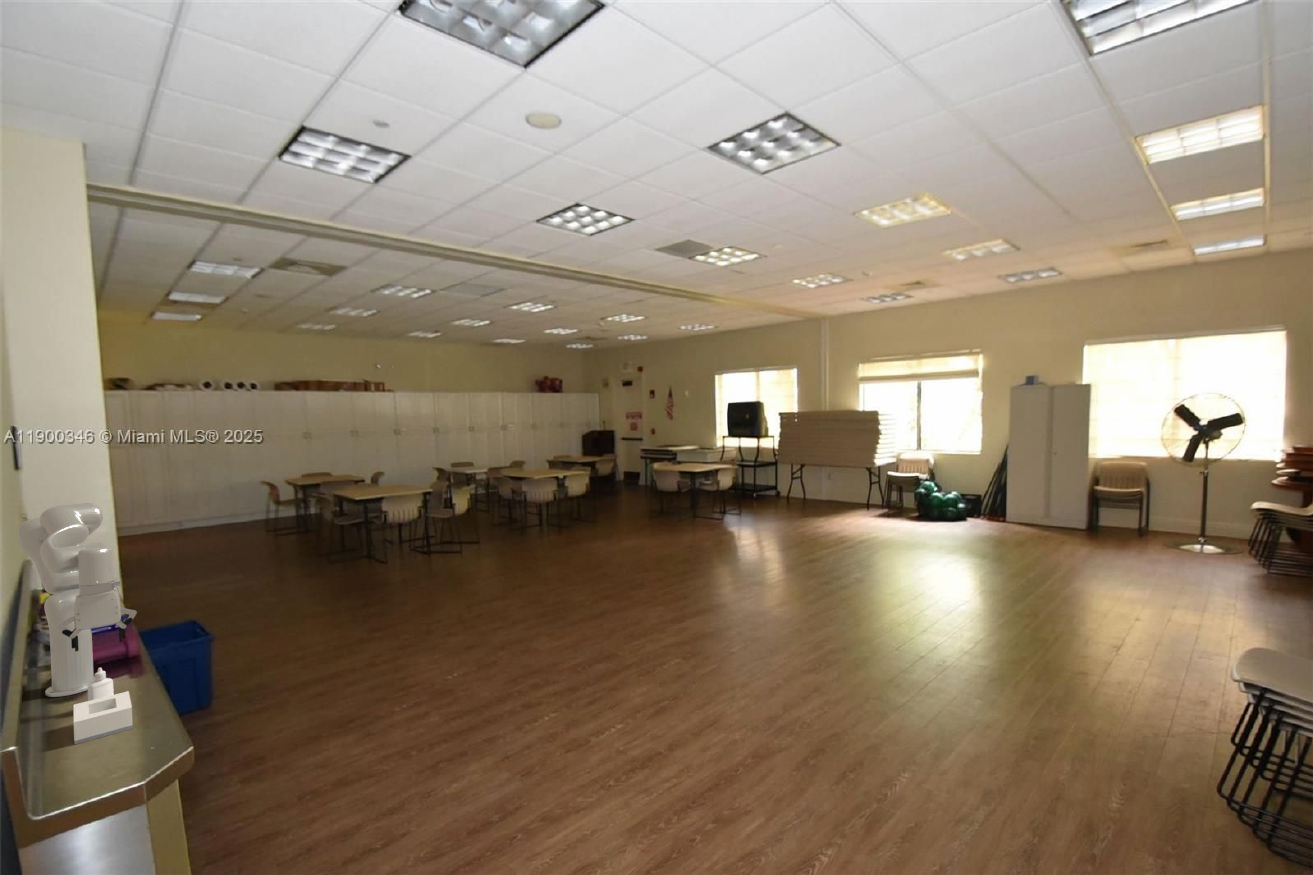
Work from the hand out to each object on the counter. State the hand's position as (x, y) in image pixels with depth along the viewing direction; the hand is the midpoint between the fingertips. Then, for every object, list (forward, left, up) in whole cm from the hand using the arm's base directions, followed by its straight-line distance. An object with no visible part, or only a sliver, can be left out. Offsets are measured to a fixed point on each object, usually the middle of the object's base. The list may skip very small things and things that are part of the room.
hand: (99, 645), depth 178 cm
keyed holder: (+16, 0, -19) cm, 25 cm away
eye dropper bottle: (0, 0, -19) cm, 19 cm away
